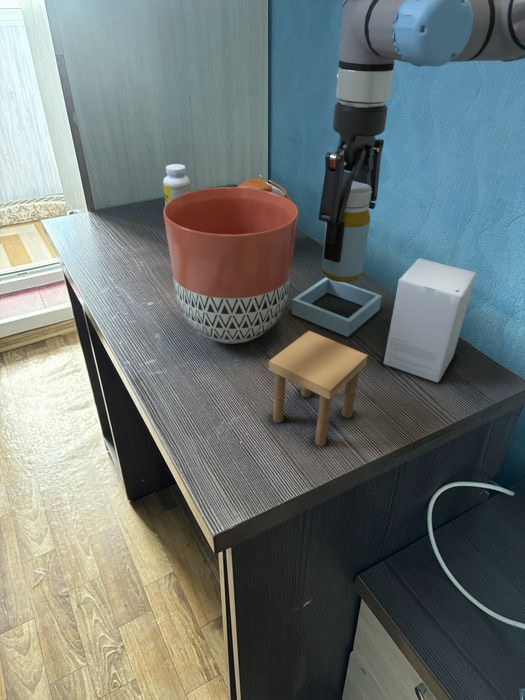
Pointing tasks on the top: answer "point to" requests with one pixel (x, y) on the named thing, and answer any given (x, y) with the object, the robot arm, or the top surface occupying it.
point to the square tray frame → (331, 320)
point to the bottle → (351, 237)
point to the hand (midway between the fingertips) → (344, 252)
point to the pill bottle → (175, 182)
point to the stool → (317, 375)
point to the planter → (231, 259)
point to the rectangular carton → (428, 318)
